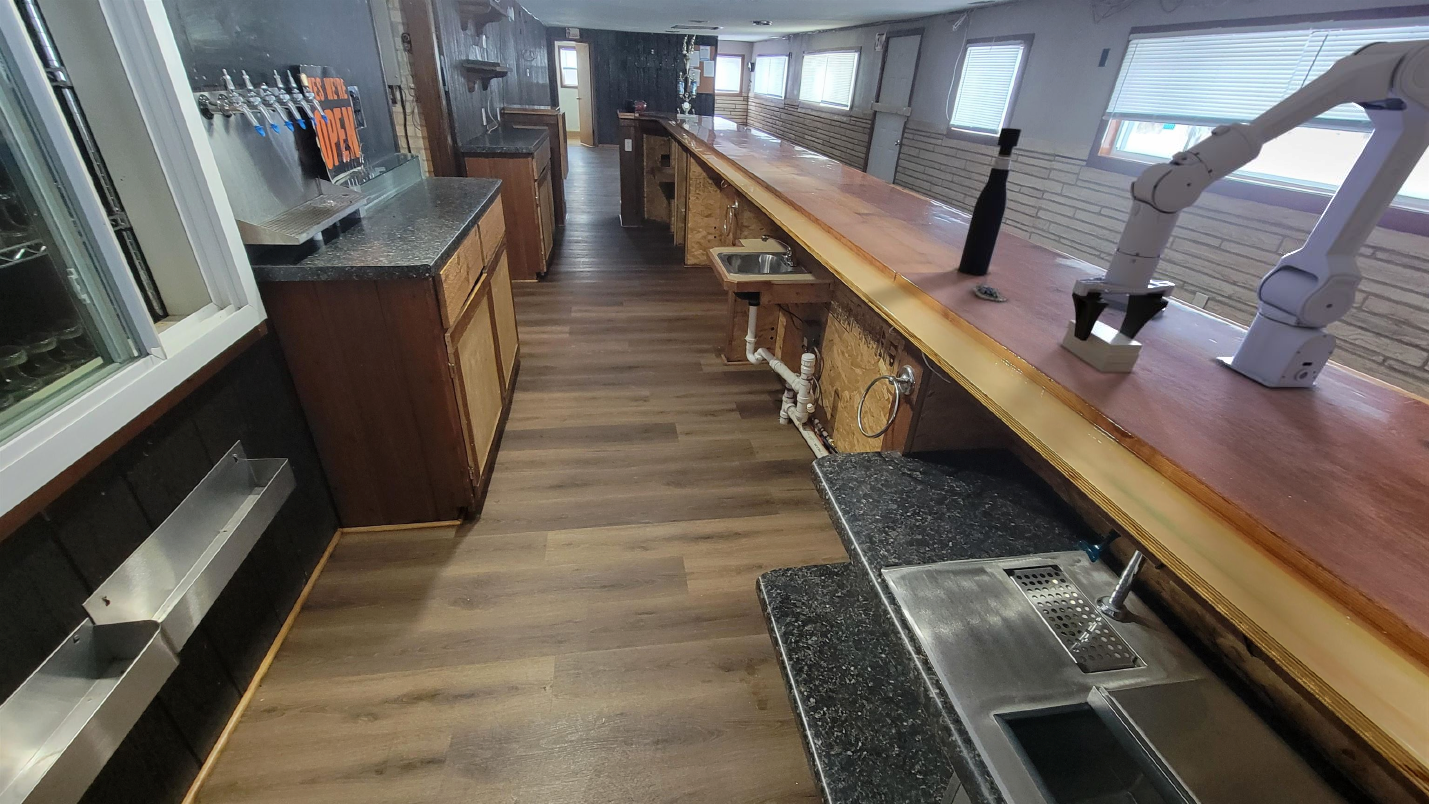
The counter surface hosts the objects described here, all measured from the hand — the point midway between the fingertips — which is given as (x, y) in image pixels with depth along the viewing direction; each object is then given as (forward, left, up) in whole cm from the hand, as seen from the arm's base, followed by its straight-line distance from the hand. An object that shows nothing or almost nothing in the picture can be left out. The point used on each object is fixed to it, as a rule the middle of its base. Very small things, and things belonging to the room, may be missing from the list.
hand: (1102, 338), depth 89 cm
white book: (0, 0, 0) cm, 0 cm away
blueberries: (+30, +2, -3) cm, 30 cm away
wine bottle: (+47, -3, -3) cm, 47 cm away
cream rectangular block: (0, 0, -3) cm, 3 cm away
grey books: (+22, -23, -3) cm, 32 cm away
